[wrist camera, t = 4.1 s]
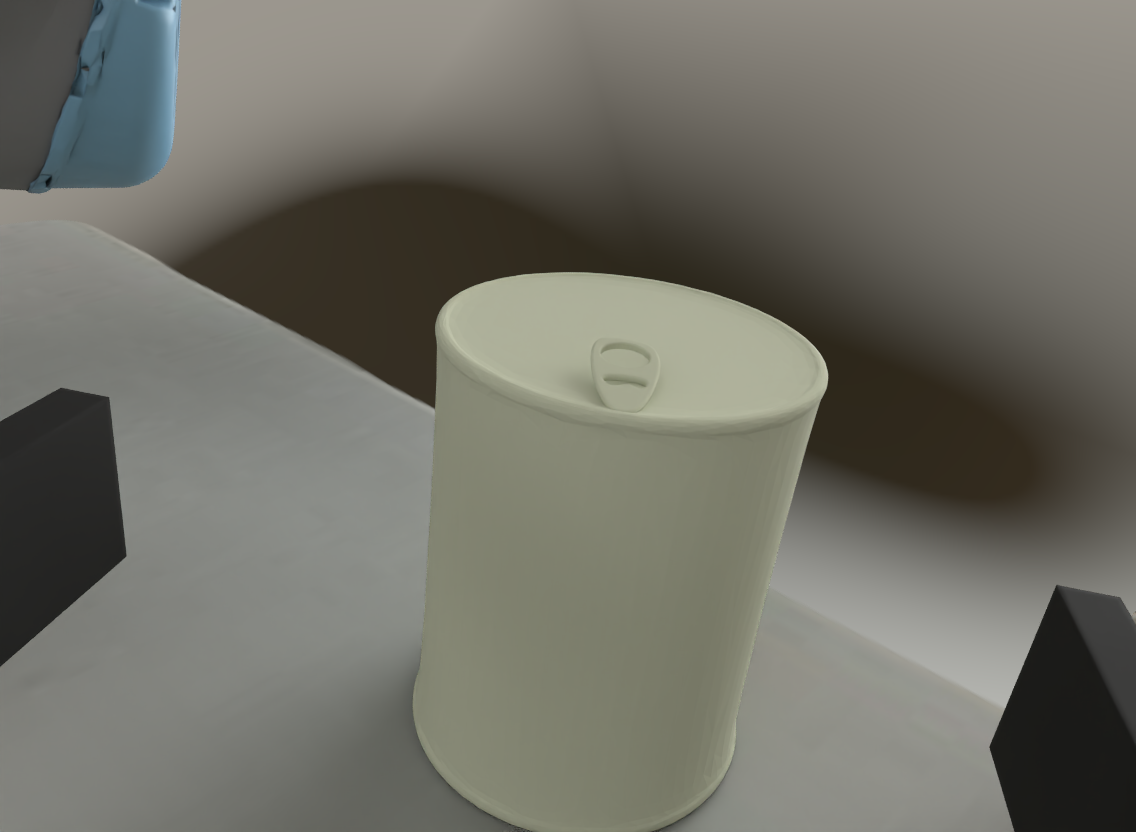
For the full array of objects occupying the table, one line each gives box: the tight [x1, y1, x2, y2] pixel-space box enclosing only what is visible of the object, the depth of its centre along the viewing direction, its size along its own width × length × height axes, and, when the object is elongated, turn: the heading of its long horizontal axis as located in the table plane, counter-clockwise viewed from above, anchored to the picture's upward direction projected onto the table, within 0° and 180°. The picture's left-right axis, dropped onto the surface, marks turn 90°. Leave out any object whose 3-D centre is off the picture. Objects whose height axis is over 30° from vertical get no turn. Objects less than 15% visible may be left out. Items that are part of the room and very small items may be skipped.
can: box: [413, 272, 828, 832], centre depth 24 cm, size 9×9×12 cm
